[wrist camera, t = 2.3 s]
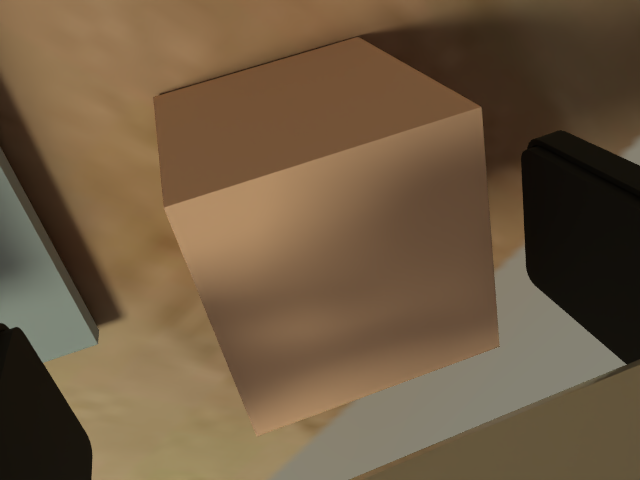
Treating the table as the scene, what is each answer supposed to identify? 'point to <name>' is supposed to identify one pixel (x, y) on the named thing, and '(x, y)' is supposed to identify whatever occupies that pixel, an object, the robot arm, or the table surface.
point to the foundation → (37, 279)
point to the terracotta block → (331, 225)
